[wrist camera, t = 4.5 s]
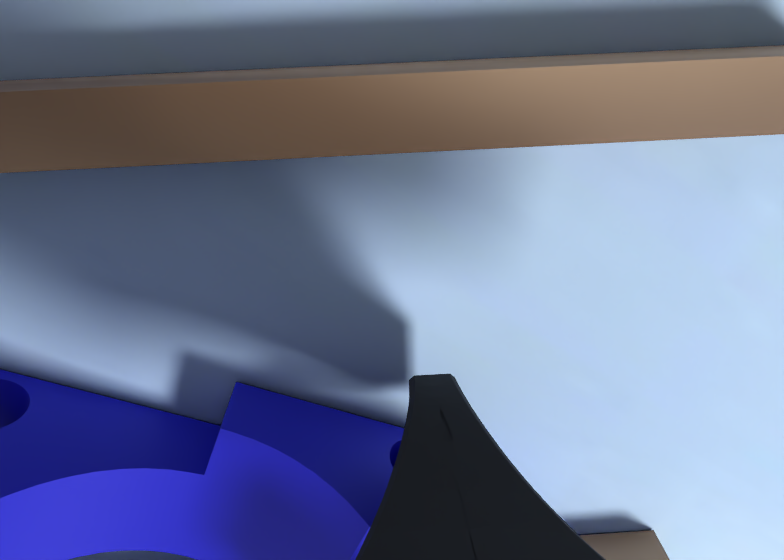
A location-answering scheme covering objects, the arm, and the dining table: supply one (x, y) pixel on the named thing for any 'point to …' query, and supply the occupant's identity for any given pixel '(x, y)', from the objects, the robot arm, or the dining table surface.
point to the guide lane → (395, 119)
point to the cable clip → (186, 476)
